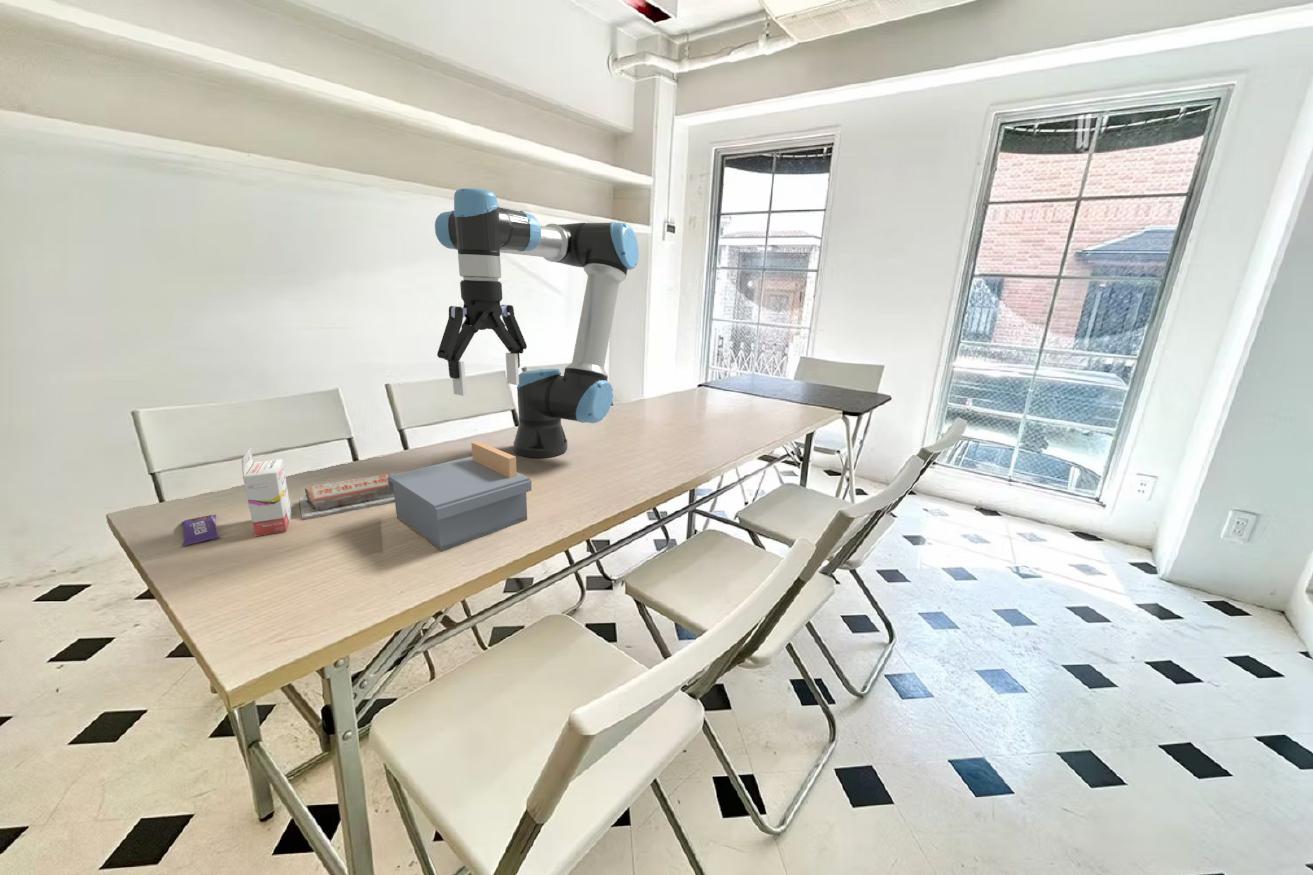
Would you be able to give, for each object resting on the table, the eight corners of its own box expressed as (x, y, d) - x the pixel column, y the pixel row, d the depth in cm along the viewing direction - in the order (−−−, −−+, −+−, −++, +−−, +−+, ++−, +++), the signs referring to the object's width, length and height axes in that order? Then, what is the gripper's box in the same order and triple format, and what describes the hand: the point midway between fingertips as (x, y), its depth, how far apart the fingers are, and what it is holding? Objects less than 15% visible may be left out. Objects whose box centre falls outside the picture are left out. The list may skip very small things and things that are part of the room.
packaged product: (392, 467, 114) (401, 481, 106) (394, 487, 115) (404, 502, 108) (295, 483, 103) (298, 500, 96) (299, 504, 104) (302, 523, 97)
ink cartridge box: (288, 531, 92) (274, 456, 88) (254, 537, 90) (238, 460, 86) (293, 513, 100) (280, 443, 95) (262, 518, 97) (247, 446, 93)
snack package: (218, 532, 88) (180, 541, 85) (221, 542, 89) (183, 551, 86) (215, 509, 97) (180, 517, 93) (217, 518, 97) (182, 526, 94)
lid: (477, 464, 111) (475, 436, 109) (531, 490, 99) (530, 459, 97) (388, 487, 97) (384, 455, 96) (437, 520, 85) (434, 484, 83)
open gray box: (480, 494, 112) (477, 460, 110) (527, 520, 101) (525, 483, 99) (397, 518, 99) (392, 481, 97) (440, 551, 88) (436, 510, 86)
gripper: (515, 280, 107) (519, 377, 113) (408, 277, 86) (421, 397, 93) (541, 281, 103) (544, 382, 110) (436, 278, 83) (447, 402, 89)
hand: (488, 389), depth 101 cm, fingers open, 13 cm apart
